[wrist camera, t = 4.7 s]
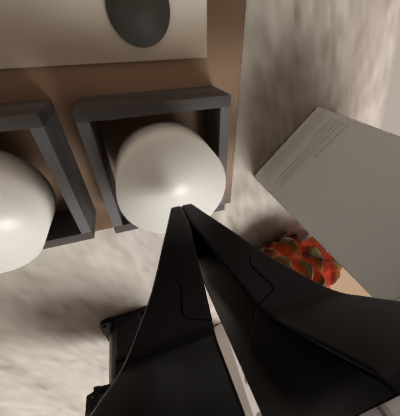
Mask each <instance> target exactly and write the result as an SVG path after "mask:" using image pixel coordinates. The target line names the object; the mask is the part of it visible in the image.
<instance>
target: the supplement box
mask: <svg viewBox="0 0 400 416" xmlns="http://www.w3.org/2000/svg"><path fill="white" fill-rule="evenodd" d="M255 178H256V179H257V181H258V182H259V183H260V184H261V185H262V186H263V187H264V188H265V189H266V190H267V191H268V192H269V193H270V194H271V195H272V196H273V197H274V198H275V199H276V200H277V201H278V202H279V203H280V204H281V205H282V206H283V207H284V208H285V209H286V210H287V211H288V212H289V213H290V214H291V215H292V216H293V217H294V218H295V219H296V220H297V221H298V222H299V223H300V224H301V225H302V226H303V227H304V228H305V229H306V230H307V231H308V232H309V233H310V234H311V235H312V236H313V237H314V238H315V239H316V240H317V241H318V242H319V243H320V244H321V245H322V246H323V247H324V248H325V249H326V251H327V252H328V253H329V254H330V255H331V256H332V257H333V258H334V259H335V260H336V261H337V262H338V263H339V264H340V265H341V266H342V267H343V268H344V269H345V270H346V271H347V272H348V273H349V274H350V275H351V276H352V277H353V278H354V279H355V280H356V281H357V282H358V283H359V284H360V285H361V286H362V287H363V288H364V289H365V290H366V291H367V292H368V293H369V294H370V295H371V296H372V297H373V298H380V299H388V300H395V301H400V136H397V135H394V134H392V133H389V132H386V131H383V130H381V129H378V128H375V127H373V126H370V125H367V124H365V123H362V122H359V121H356V120H354V119H351V118H348V117H346V116H343V115H340V114H338V113H335V112H332V111H329V110H326V109H324V108H321V107H317V108H316V109H315V110H314V111H313V112H312V113H311V114H310V116H309V117H308V118H307V119H306V120H305V121H304V122H303V123H302V124H301V125H300V126H299V127H298V129H297V130H296V131H295V132H294V133H293V134H292V135H291V136H290V137H289V138H288V139H287V141H286V142H285V143H284V144H283V145H282V146H281V147H280V148H279V149H278V150H277V151H276V152H275V154H274V155H273V156H272V157H271V158H270V159H269V160H268V161H267V162H266V163H265V164H264V165H263V167H262V168H261V169H260V170H259V171H258V172H257V174H256V175H255Z"/></svg>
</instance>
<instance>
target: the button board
mask: <svg viewBox="0 0 400 416" xmlns="http://www.w3.org/2000/svg"><path fill="white" fill-rule="evenodd" d="M245 10H246V0H0V150H2V151H5V152H8V153H10V154H13V155H15V156H17V157H19V158H21V159H23V160H25V161H26V162H28V163H29V164H31V165H32V166H34V167H35V168H36V169H37V170H39V171H40V172H41V173H42V174H43V175H44V176H45V177H46V179H47V180H48V181H49V183H50V184H51V186H52V188H53V190H54V192H55V196H56V210H55V213H54V216H53V219H52V222H51V225H50V229H49V232H48V235H47V238H46V241H45V244H44V247H43V249H46V248H51V247H55V246H60V245H64V244H69V243H74V242H78V241H83V240H87V239H92V238H94V233H95V231H98V230H103V229H107V228H112V227H114V230H115V232H116V233H120V232H124V231H129V230H134V229H138V227H136V226H135V225H133V224H132V223H131V222H129V221H128V220H127V219H126V217H125V216H124V215H123V213H122V212H121V210H120V208H119V206H118V203H117V198H116V169H115V164H116V157H117V153H118V151H119V148H120V146H121V145H122V143H123V141H124V140H125V139H126V138H127V137H128V136H129V135H130V134H131V133H132V132H133V131H135V130H136V129H138V128H139V127H141V126H143V125H145V124H148V123H151V122H156V121H174V122H178V123H181V124H184V125H186V126H188V127H190V128H191V129H193V130H194V131H195V132H196V133H197V134H198V135H199V136H200V137H201V138H202V139H203V140H204V141H205V143H206V144H207V145H208V146H209V147H210V148H211V150H212V151H213V152H214V153H215V154H216V155H217V157H218V158H219V160H220V161H221V163H222V165H223V168H224V171H225V176H226V186H225V191H224V195H223V197H222V200H221V202H220V204H219V205H218V207H217V208H216V210H215V211H214V212H217V211H221V210H224V206H225V204H226V203H230V199H231V186H232V173H233V161H234V148H235V136H236V123H237V110H238V98H239V85H240V73H241V60H242V47H243V35H244V22H245Z"/></svg>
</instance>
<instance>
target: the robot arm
mask: <svg viewBox="0 0 400 416" xmlns="http://www.w3.org/2000/svg"><path fill="white" fill-rule="evenodd" d="M204 284H205V287H206V289H207V291H208V293H209V296H210V298H211V300H212V303H213V305H214V307H215V309H216V312H217V314H218V316H219V319H220V321H221V323H222V325H223V328H224V330H225V332H226V335H227V337H228V339H229V341H230V344H231V346H232V348H233V351H234V353H235V355H236V357H237V360H238V362H239V364H240V366H241V369H242V371H243V374H244V376H245V378H246V380H247V383H248V385H249V387H250V390H251V392H252V394H253V396H254V399H255V401H256V403H257V405H258V408H259V410H260V412H261V415H262V416H400V301H395V300H388V299H380V298H373V297H365V296H358V295H350V294H345V293H341V292H337V291H334V290H332V289H329V288H327V287H325V286H323V285H321V284H319V283H317V282H315V281H313V280H312V279H310V278H308V277H306V276H304V275H302V274H301V273H299V272H297V271H295V270H293V269H291V268H290V267H288V266H286V265H284V264H282V263H281V262H279V261H277V260H275V259H274V258H272V257H270V256H269V255H267V254H266V253H264V252H263V251H261V250H259V249H258V248H256V247H255V246H254V245H251V244H250V243H249V242H247V241H246V240H244V239H243V238H242V237H240V236H239V235H237V234H236V233H234V232H233V231H231V230H230V229H228V228H227V227H225V226H224V225H222V224H221V223H219V222H218V221H216V220H215V219H213V218H212V217H210V216H209V215H207V214H206V213H205V212H203V211H202V210H200V209H199V208H197V207H196V206H194V205H193V204H186V205H182V207H181V206H176V207H172V208H171V210H170V215H169V219H168V224H167V228H166V233H165V237H164V242H163V246H162V251H161V255H160V260H159V264H158V270H157V273H156V277H155V281H154V285H153V289H152V292H151V295H150V298H149V301H148V304H147V307H146V308H145V309H142V310H138V311H135V312H132V313H128V314H125V315H121V316H118V317H115V318H111V319H108V320H105V321H102V322H101V323H100V328H101V330H102V331H103V333H104V334H105V336H106V337H107V339H108V340H109V342H110V343H109V384H108V385H104V386H96V387H94V392H92V393H91V394H89V395H88V396H87V398H86V412H85V416H246V415H245V412H244V410H243V407H242V405H241V402H240V399H239V397H238V394H237V391H236V389H235V386H234V383H233V381H232V378H231V375H230V373H229V370H228V368H227V365H226V362H225V360H224V357H223V354H222V352H221V349H220V346H219V344H218V341H217V337H216V334H215V330H214V326H213V322H212V317H211V313H210V308H209V304H208V300H207V295H206V291H205V287H204Z"/></svg>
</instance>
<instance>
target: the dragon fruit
mask: <svg viewBox="0 0 400 416" xmlns="http://www.w3.org/2000/svg"><path fill="white" fill-rule="evenodd" d="M260 250H261V251H263V252H264V253H266V254H267V255H269V256H270V257H272V258H274V259H275V260H277V261H279V262H281V263H282V264H284V265H286V266H288V267H290V268H291V269H293V270H295V271H297V272H299V273H301V274H302V275H304V276H306V277H308V278H310V279H312V280H313V281H315V282H317V283H319V284H321V285H323V286H325V287H327V288H329V289H330V285H333V284H334V283H335V282H336V281H337V280H338V279H339V277H340V270H341V269H342V266H341V265H340V264H339V263H338V262H337V261H336V260H335V259H334V258H333V257H332V256H331V255H330V254H329V253H328V252H326V249H325V248H324V247H323V246H322V245H321V244H320V243H319V242H318V241H317V240H316V239H315V238H314V237H313V236H312V237H310V238H308V239H306V240H304V241H303V242H301V241H300V240H299V238H298V236H297V234H296V233H295V232H290V233H285V234H284V236H282V237H281V240H280V241H279V242H278V243H276V242H274V241H272V242H269V243H267V244H265V245H264V246H263V247H262V248H261V249H260Z"/></svg>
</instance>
